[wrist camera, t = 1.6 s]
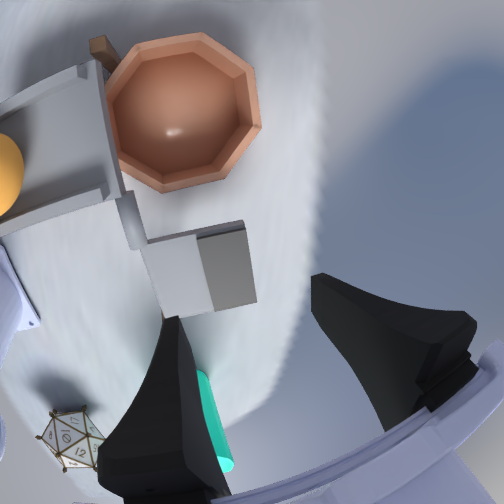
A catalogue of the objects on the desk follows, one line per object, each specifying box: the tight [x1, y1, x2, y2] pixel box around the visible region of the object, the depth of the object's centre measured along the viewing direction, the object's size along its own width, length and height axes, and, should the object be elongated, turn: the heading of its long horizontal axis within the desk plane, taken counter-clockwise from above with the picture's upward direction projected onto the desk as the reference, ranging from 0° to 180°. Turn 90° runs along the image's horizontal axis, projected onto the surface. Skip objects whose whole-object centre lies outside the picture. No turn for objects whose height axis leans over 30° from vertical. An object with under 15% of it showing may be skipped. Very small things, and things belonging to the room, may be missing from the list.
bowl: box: [104, 32, 262, 194], centre depth 15 cm, size 9×9×4 cm
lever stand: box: [89, 35, 165, 323], centre depth 15 cm, size 9×17×6 cm, turn 8°
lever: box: [0, 59, 257, 318], centre depth 12 cm, size 14×15×3 cm
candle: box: [196, 369, 234, 473], centre depth 22 cm, size 6×6×12 cm
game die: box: [35, 405, 105, 473], centre depth 22 cm, size 9×8×10 cm
